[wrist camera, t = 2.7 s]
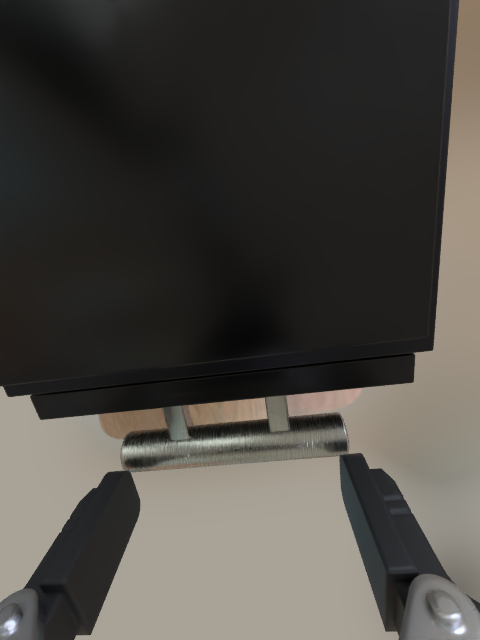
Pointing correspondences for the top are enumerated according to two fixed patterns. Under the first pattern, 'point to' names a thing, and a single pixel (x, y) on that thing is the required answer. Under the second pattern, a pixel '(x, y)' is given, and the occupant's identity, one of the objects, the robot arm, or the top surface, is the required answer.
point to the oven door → (232, 437)
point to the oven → (218, 185)
